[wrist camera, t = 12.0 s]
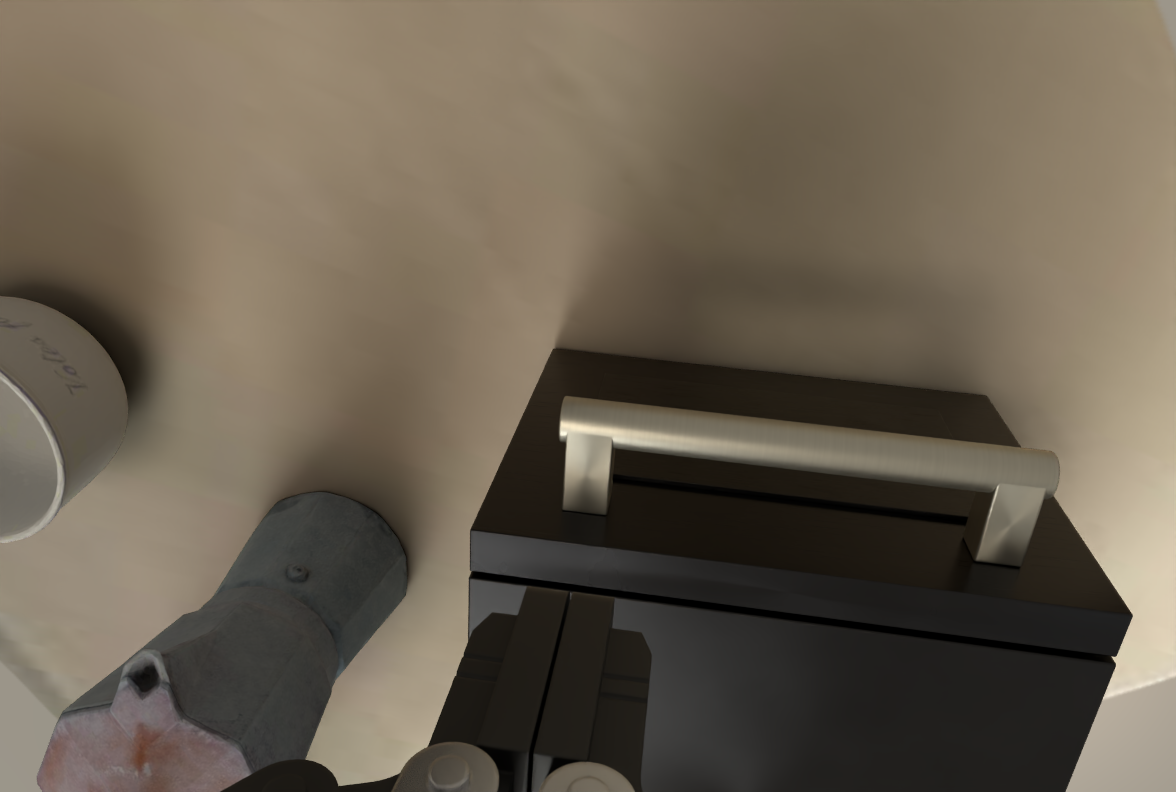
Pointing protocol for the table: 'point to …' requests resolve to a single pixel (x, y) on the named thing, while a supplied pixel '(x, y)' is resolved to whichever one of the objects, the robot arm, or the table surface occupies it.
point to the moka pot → (239, 660)
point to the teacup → (52, 414)
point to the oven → (839, 700)
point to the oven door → (793, 502)
